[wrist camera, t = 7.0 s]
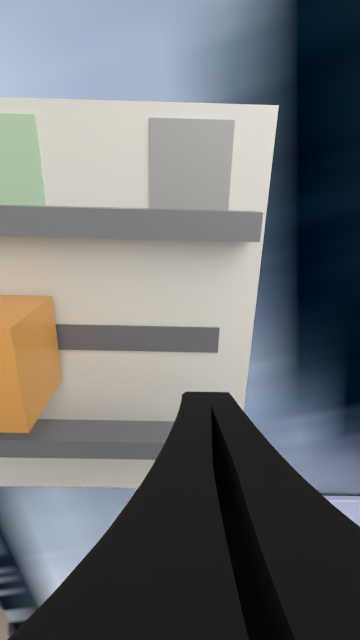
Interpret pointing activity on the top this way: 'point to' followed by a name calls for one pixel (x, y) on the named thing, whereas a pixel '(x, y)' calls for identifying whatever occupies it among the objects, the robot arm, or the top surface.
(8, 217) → the panel
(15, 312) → the lever
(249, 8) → the top surface
